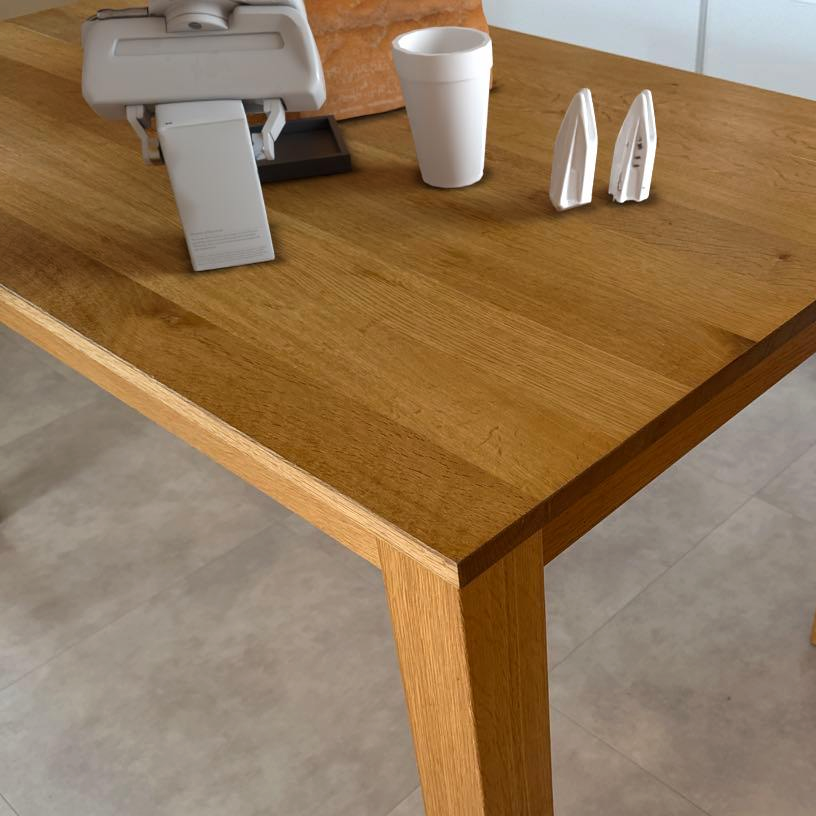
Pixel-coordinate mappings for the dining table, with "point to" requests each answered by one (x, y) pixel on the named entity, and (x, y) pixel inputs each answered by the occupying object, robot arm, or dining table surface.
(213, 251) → the white packaging box
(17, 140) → the dining table surface
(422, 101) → the foam cup
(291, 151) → the black rectangular tray
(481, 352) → the dining table surface
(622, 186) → the shaker set
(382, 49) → the bread
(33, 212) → the dining table surface
